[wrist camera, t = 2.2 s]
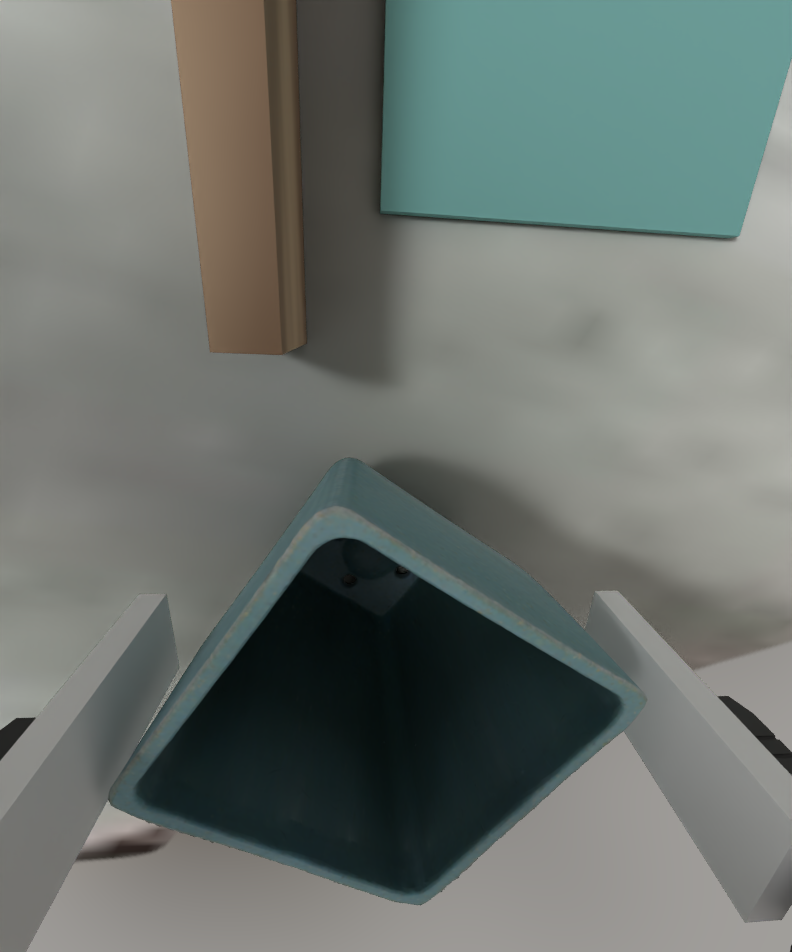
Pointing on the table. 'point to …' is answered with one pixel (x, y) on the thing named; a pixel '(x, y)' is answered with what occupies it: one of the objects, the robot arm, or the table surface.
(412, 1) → the pad
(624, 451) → the table surface
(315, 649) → the flower pot
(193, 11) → the corner arena
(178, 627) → the table surface
